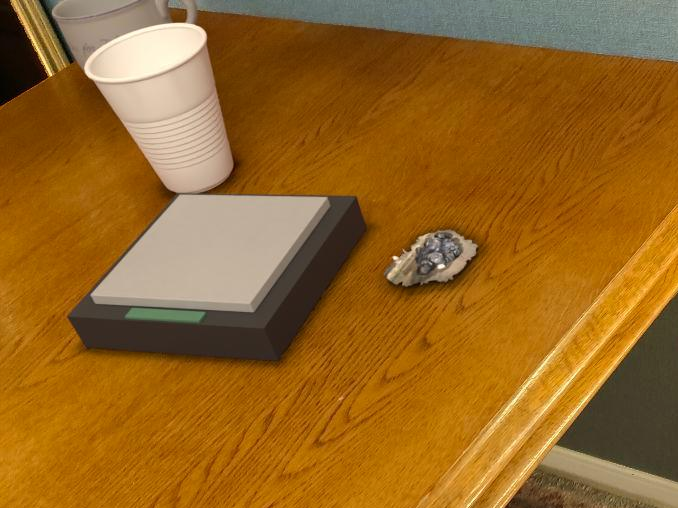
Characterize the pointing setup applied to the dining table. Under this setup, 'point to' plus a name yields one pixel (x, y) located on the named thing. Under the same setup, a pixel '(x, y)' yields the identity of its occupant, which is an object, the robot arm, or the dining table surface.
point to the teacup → (110, 21)
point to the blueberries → (432, 259)
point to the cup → (167, 102)
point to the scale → (221, 275)
